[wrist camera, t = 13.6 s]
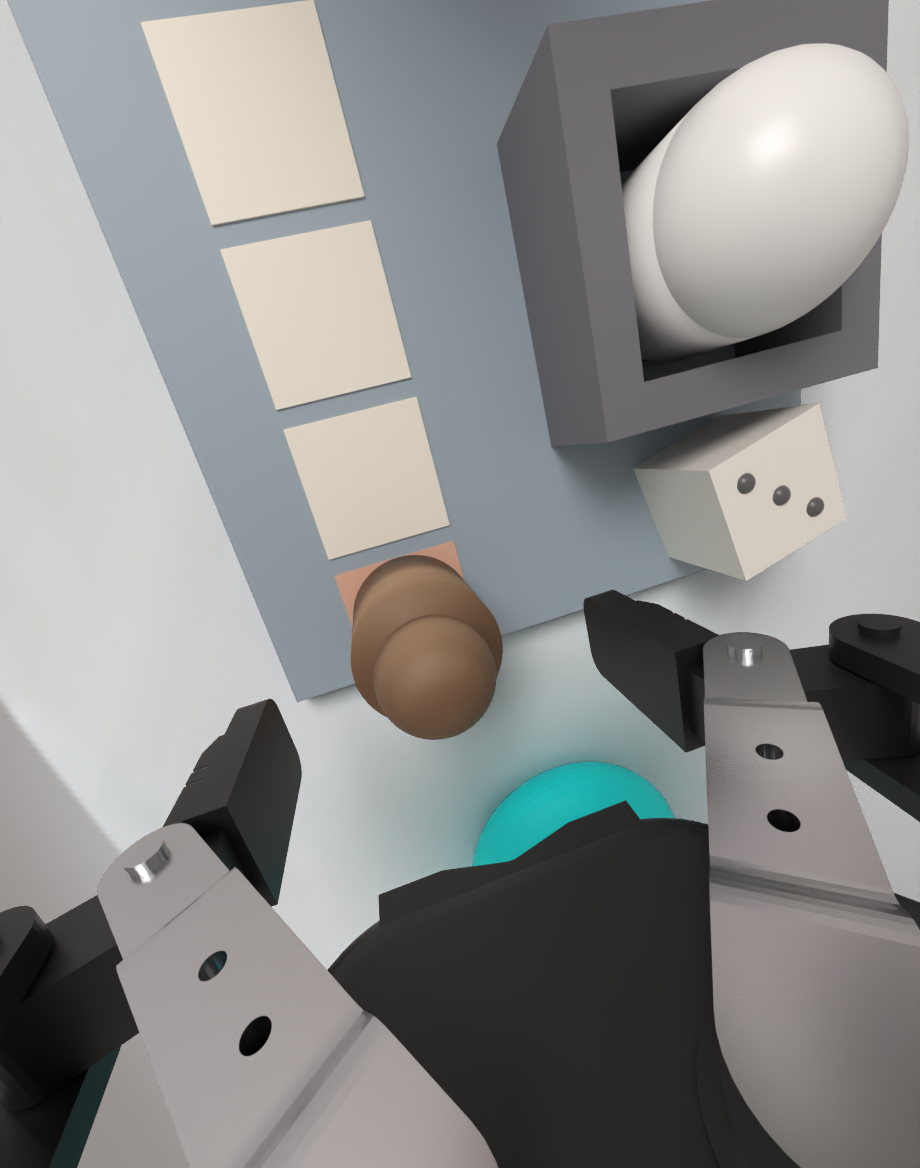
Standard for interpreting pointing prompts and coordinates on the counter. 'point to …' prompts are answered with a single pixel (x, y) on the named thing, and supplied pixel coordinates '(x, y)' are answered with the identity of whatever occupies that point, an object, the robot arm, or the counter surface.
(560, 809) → the donuts
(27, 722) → the counter surface
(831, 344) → the board
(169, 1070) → the robot arm
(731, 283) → the dome
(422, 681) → the pawn
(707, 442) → the die
